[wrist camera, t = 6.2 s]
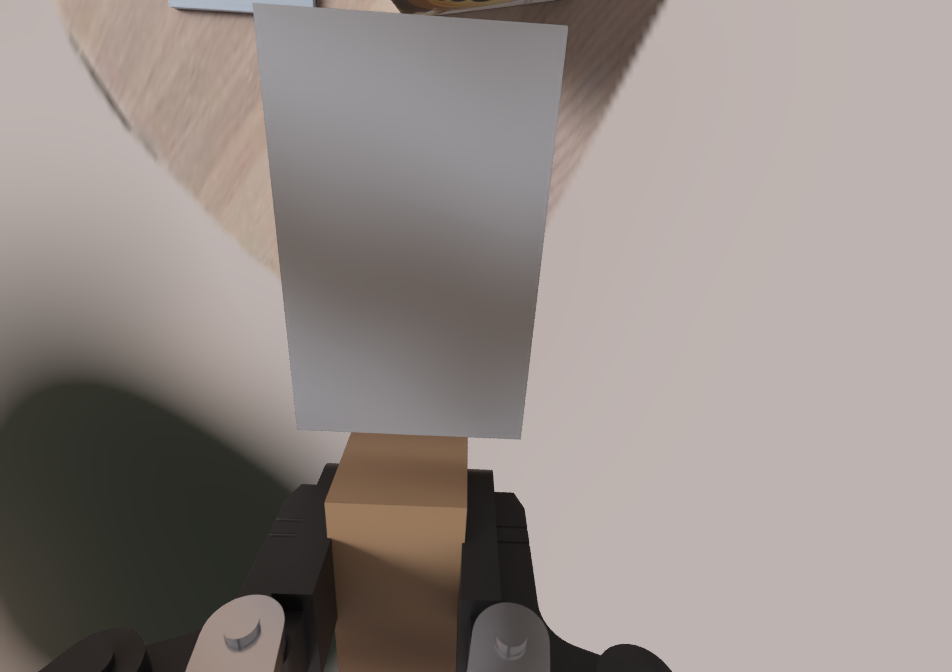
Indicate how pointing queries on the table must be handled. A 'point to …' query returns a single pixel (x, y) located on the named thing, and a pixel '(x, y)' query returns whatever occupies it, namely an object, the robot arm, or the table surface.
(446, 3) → the coffee box
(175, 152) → the table surface
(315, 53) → the spatula
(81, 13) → the table surface
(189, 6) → the board
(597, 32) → the table surface
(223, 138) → the table surface
